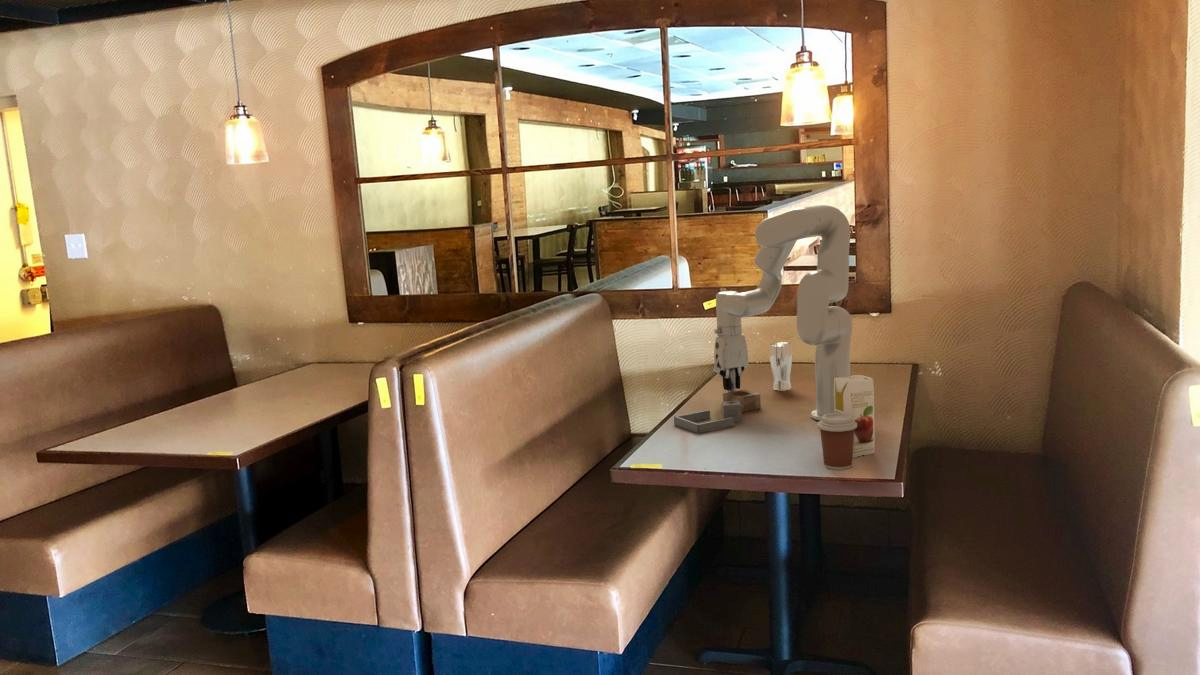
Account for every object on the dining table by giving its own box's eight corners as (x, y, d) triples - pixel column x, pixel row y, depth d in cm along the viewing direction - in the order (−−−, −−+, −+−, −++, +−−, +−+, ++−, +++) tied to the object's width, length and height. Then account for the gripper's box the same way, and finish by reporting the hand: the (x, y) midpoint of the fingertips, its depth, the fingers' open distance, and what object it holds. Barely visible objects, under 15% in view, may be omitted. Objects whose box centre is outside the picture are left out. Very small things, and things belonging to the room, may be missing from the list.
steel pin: (738, 401, 287) (737, 360, 284) (731, 403, 285) (729, 362, 283) (733, 400, 289) (731, 359, 287) (726, 401, 288) (724, 361, 286)
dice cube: (739, 417, 268) (739, 400, 267) (741, 421, 263) (740, 404, 262) (722, 418, 268) (721, 401, 267) (724, 422, 263) (723, 405, 262)
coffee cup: (835, 457, 223) (834, 409, 221) (866, 465, 216) (865, 415, 214) (810, 466, 218) (808, 417, 216) (841, 474, 210) (839, 423, 208)
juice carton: (831, 452, 228) (829, 377, 225) (860, 446, 230) (858, 372, 227) (849, 459, 221) (848, 382, 218) (879, 454, 223) (878, 378, 220)
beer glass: (791, 386, 303) (790, 341, 300) (794, 391, 296) (792, 345, 294) (770, 387, 303) (768, 342, 301) (772, 392, 297) (770, 346, 294)
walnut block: (760, 408, 276) (760, 393, 275) (739, 412, 273) (738, 398, 272) (744, 403, 283) (744, 389, 282) (723, 408, 280) (722, 393, 279)
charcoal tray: (733, 425, 258) (733, 417, 258) (698, 433, 253) (697, 424, 252) (708, 417, 269) (708, 409, 269) (674, 424, 264) (673, 416, 263)
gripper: (714, 335, 277) (717, 395, 280) (758, 329, 284) (760, 386, 287) (700, 333, 283) (703, 391, 286) (743, 326, 291) (745, 383, 293)
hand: (731, 388), depth 286 cm, fingers closed on steel pin, 2 cm apart
